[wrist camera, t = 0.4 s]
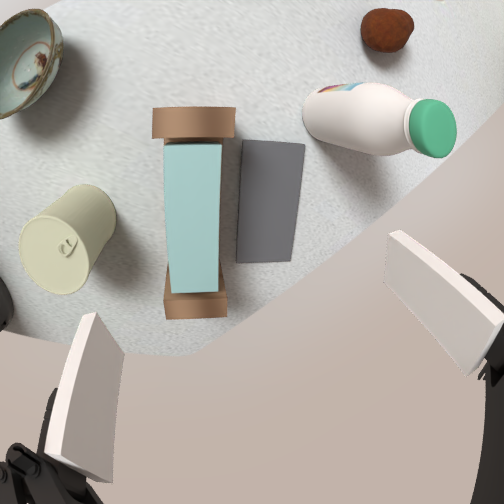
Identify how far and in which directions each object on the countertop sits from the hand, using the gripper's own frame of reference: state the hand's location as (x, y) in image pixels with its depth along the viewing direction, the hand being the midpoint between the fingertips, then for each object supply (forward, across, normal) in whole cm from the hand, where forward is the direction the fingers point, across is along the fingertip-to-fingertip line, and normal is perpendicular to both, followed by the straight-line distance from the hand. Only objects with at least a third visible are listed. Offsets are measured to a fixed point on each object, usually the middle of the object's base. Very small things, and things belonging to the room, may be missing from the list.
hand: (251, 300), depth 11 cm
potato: (+26, +27, +18) cm, 41 cm away
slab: (+19, -3, -2) cm, 20 cm away
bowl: (+26, -19, +22) cm, 39 cm away
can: (+26, -18, -1) cm, 31 cm away
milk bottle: (+26, +16, +5) cm, 31 cm away
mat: (+25, +6, -6) cm, 27 cm away
